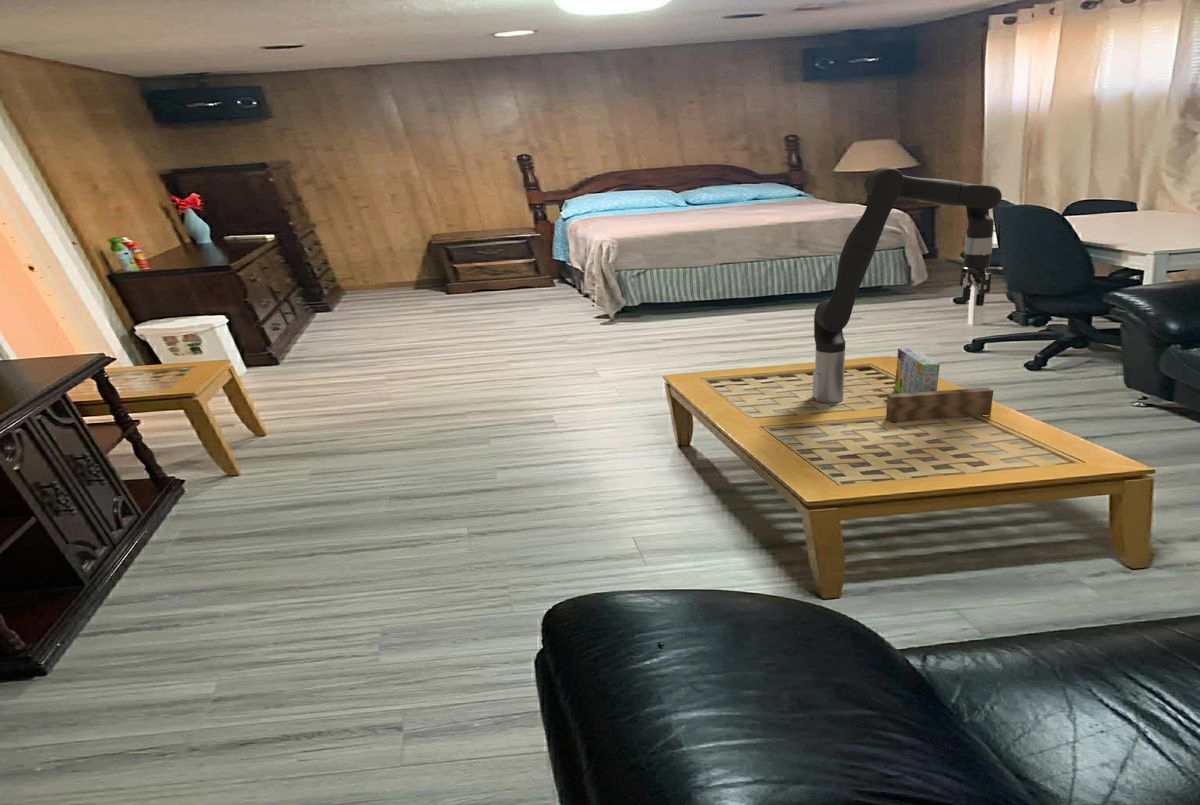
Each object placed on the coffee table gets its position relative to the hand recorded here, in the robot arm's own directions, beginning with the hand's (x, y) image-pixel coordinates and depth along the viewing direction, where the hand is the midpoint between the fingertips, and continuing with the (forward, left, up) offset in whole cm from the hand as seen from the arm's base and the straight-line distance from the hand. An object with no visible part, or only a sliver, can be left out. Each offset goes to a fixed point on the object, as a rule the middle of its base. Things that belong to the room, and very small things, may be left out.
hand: (972, 303), depth 219 cm
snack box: (-19, -6, -30) cm, 36 cm away
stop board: (-19, -23, -29) cm, 42 cm away
